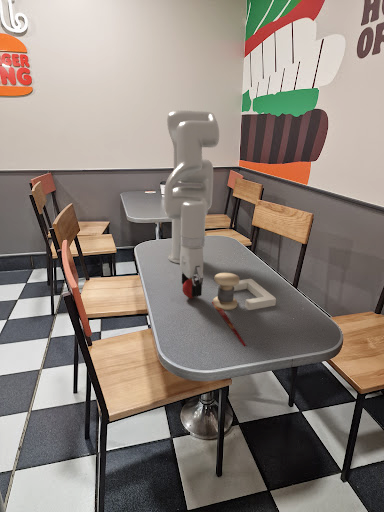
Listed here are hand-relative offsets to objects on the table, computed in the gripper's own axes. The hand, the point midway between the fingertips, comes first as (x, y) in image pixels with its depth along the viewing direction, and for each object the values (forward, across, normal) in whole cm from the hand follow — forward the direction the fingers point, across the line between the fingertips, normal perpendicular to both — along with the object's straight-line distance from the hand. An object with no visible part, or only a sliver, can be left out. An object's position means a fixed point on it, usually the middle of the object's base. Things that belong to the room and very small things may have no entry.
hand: (191, 289), depth 106 cm
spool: (+4, +6, +10) cm, 12 cm away
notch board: (+4, +4, +20) cm, 21 cm away
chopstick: (+4, +16, +6) cm, 18 cm away
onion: (+4, -1, 0) cm, 4 cm away
